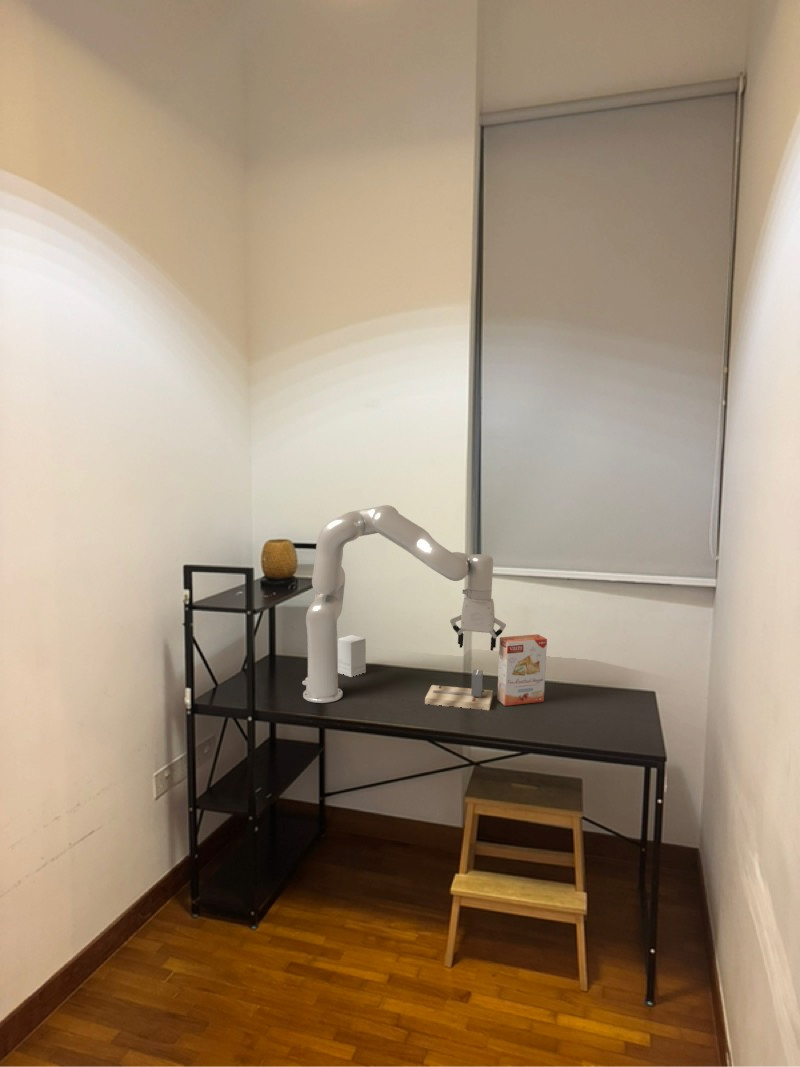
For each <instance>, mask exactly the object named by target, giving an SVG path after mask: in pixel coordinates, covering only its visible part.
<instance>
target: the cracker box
mask: <svg viewBox="0 0 800 1067" xmlns="http://www.w3.org/2000/svg"><path fill="white" fill-rule="evenodd" d="M547 642H548V639H547V637H544V636H541V635H540V634H539V633H537V634H527V635H513V636H501V637H499V651H498V670H497V671H498V674H497V697H496V699H497V701H498V702H499V703H501V704H502V705H503V706H505V707H507V706H515V705H516V706H517V705H523V704H524V705H525V704H532V703H543V702H544V701H545V700H544V698H545V683H546V664H547V647H548V646H547V645H548V643H547Z"/></svg>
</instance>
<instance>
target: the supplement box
mask: <svg viewBox="0 0 800 1067" xmlns="http://www.w3.org/2000/svg"><path fill="white" fill-rule="evenodd" d="M366 644H367V642H366V637H362V636H357V635H355V634H349V635H346V636H342V637H339V638H338V674H340V675H343V674H344V675H343V676H346V677H349V678H353V676H354V677H357V676H360V675H363V674H362V673H364V674H366V672H367V669H366V667H367V666H366V665H367V664H366V661H367V660H366V654H367V653H366V651H367V650H366ZM359 674H360V675H359ZM356 675H357V676H356Z"/></svg>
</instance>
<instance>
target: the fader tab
mask: <svg viewBox="0 0 800 1067" xmlns="http://www.w3.org/2000/svg"><path fill="white" fill-rule="evenodd" d="M483 676H484V671H483V670H479V669H473V671H472V673H471V696H477V697H481V695H482V690H483V685H484V684H483V682H484V680H483V678H484V677H483Z"/></svg>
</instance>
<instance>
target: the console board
mask: <svg viewBox="0 0 800 1067" xmlns="http://www.w3.org/2000/svg"><path fill="white" fill-rule="evenodd" d="M493 693H494V691H493V690H491V689H482V695H481V697H477V696H471V688H468V687H457V686H447V685H445V686H444V685H435V684H432V685H431V686H430V688H429V690H428V692H427V694H426V695H425V697H424V705H428V704H430V705H431V706H439V705H442V707H449V706H454V707H453V708H460V707H462V708H463V709H470V708H471V709H473V710H481V709H482V711H483V710H484V711H490V708H491V704H492V701H493V697H494V695H493ZM430 705H429V706H430Z"/></svg>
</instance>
